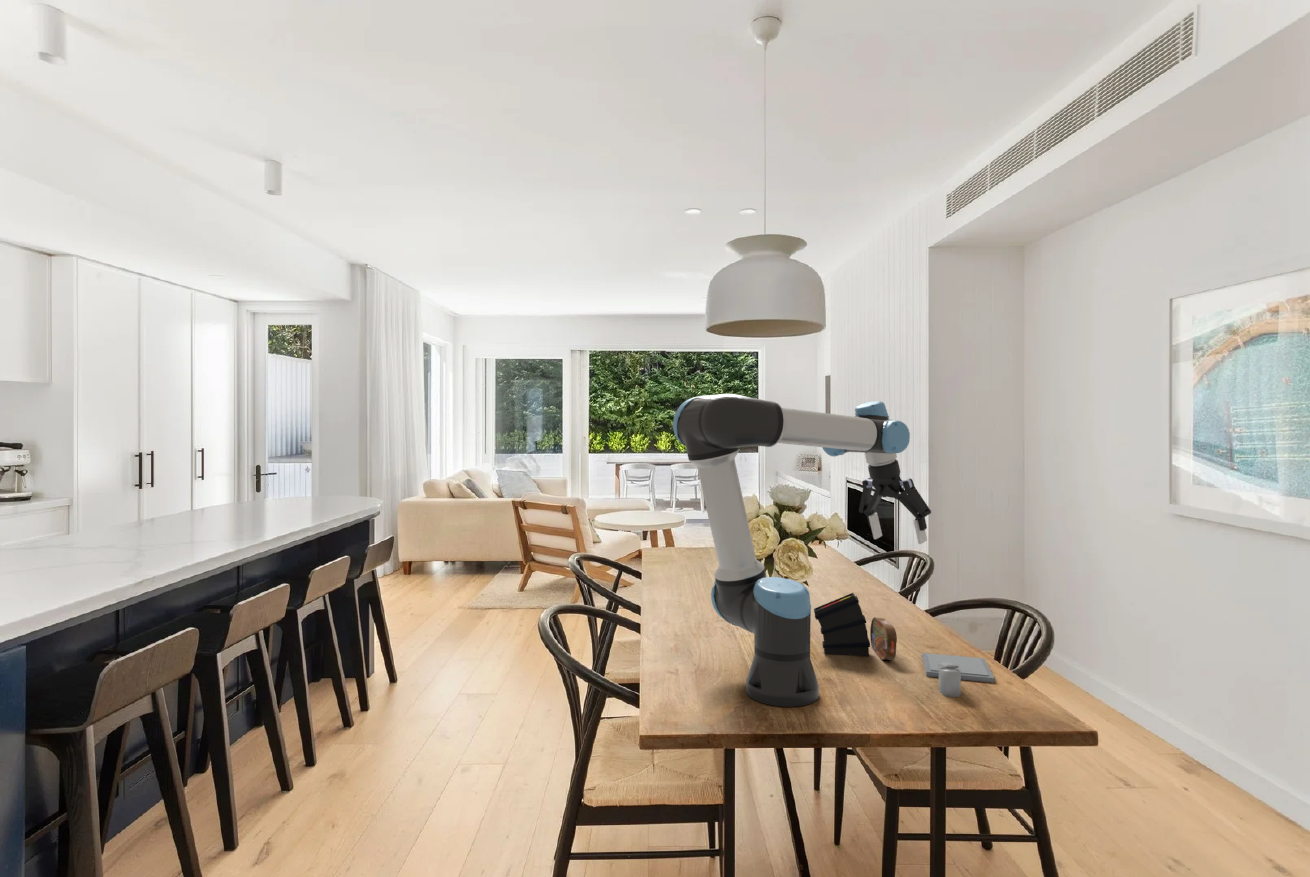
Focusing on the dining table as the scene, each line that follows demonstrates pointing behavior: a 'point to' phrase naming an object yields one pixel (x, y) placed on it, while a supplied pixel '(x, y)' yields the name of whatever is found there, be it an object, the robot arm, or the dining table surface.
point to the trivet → (968, 666)
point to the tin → (883, 638)
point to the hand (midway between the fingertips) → (899, 539)
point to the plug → (949, 679)
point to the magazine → (843, 627)
